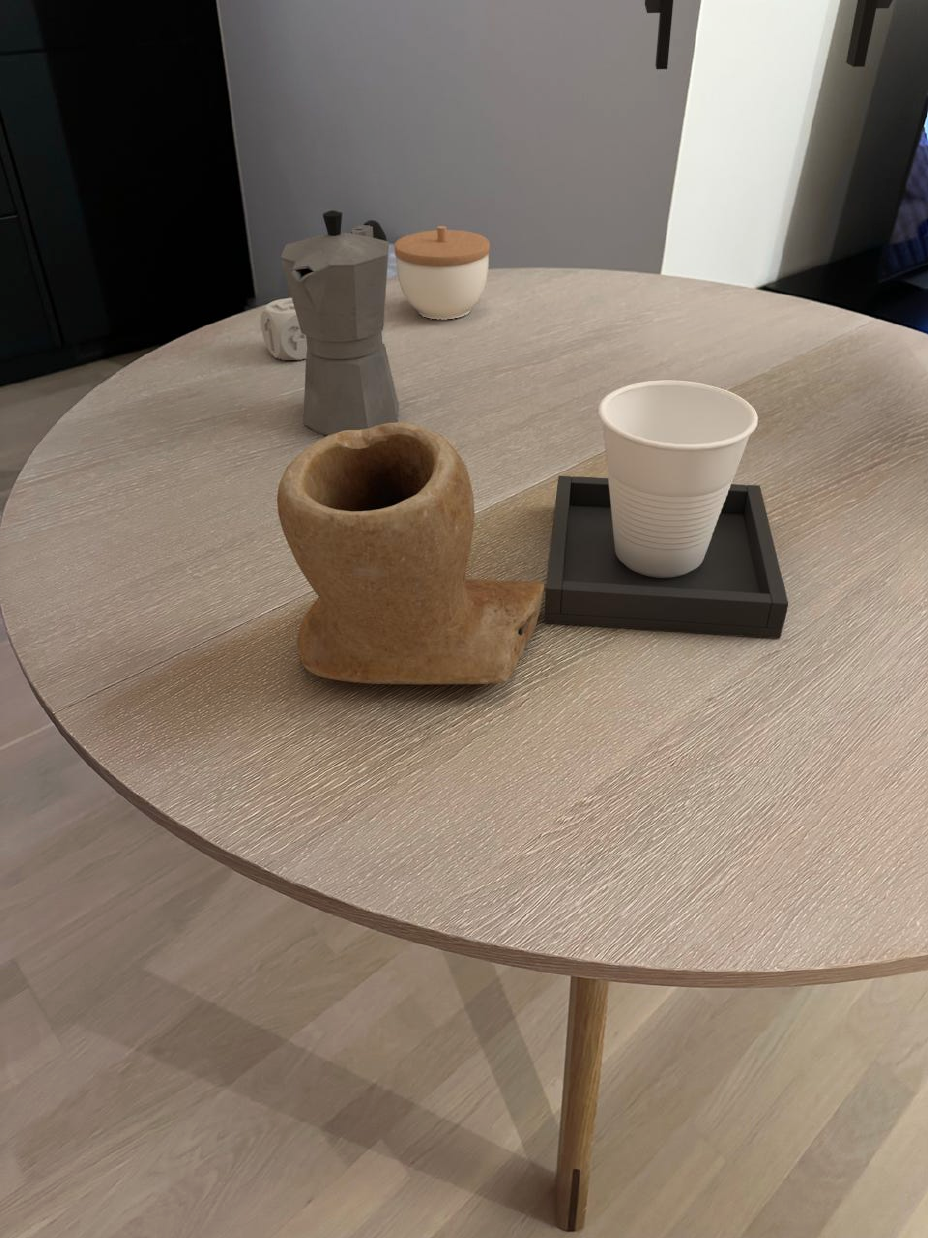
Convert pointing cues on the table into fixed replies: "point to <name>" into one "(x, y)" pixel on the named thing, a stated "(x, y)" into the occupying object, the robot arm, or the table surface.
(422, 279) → the trinket box
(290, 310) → the die
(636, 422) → the cup
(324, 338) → the coffeepot
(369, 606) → the stone cup
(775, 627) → the tray
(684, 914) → the table surface
